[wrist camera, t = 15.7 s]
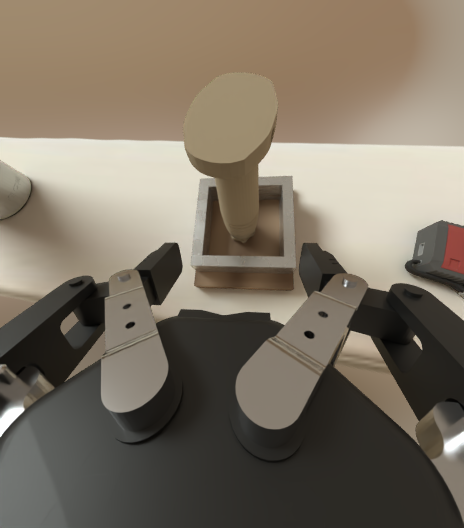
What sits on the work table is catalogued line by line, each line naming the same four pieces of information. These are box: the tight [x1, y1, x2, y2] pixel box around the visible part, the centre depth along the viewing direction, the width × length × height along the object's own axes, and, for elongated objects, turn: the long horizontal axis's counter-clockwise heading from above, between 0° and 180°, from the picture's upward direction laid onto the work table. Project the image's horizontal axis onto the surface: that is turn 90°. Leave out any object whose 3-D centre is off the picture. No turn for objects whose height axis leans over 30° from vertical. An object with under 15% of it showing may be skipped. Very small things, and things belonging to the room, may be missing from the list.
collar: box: [191, 176, 296, 274], centre depth 23 cm, size 11×11×3 cm
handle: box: [183, 72, 278, 243], centre depth 17 cm, size 5×6×15 cm
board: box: [194, 200, 294, 291], centre depth 25 cm, size 12×15×2 cm
